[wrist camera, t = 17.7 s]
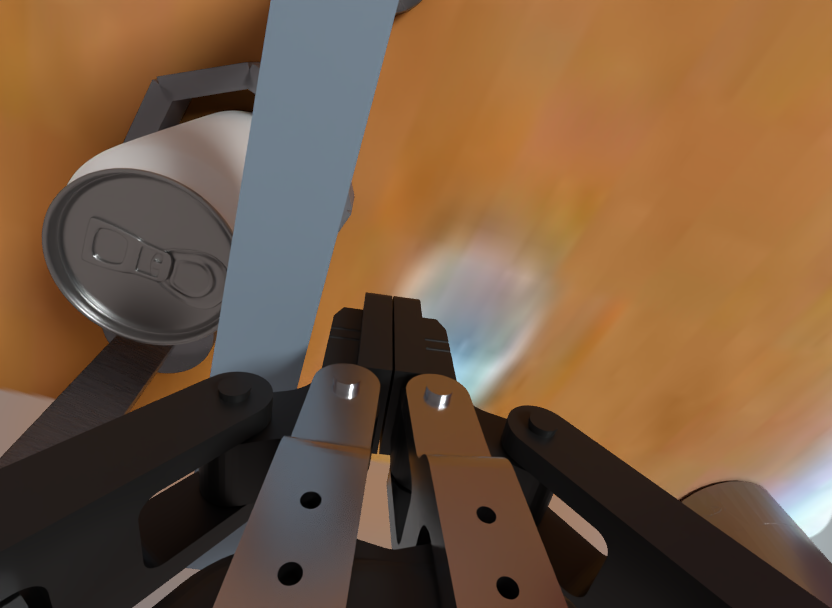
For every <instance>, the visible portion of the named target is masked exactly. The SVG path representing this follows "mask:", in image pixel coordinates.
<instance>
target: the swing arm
mask: <svg viewBox="0 0 832 608" xmlns="http://www.w3.org/2000/svg"><path fill="white" fill-rule="evenodd" d="M398 2H399V0H271V2H270V9H269V15H268V21H267V27H266V33H265V40H264V46H263V52H262V58H261V64H260V70H259V77H258V83H257V89H256V95H255V101H254V108H253V114H252V120H251V126H250V132H249V139H248V145H247V151H246V157H245V163H244V170H243V176H242V182H241V188H240V194H239V200H238V207H237V213H236V219H235V225H234V231H233V238H232V244H231V250H230V256H229V262H228V269H227V275H226V281H225V287H224V293H223V299H222V306H221V312H220V318H219V324H218V330H217V337H216V343H215V349H214V355H213V361H212V368H211V374H210V377H213V376H215V375H218V374H222V373H227V372H248V373H253V374H256V375H259V376H261V377H263V378H264V379H266V380H267V381H268V382H269V383H270V384H271V386H272V389H273V392H279V391H288V390H295V389H297V386H298V382H299V378H300V374H301V370H302V367H303V363H304V359H305V355H306V351H307V348H308V344H309V340H310V336H311V332H312V329H313V325H314V321H315V317H316V313H317V310H318V306H319V302H320V298H321V294H322V291H323V287H324V283H325V279H326V275H327V272H328V268H329V264H330V260H331V256H332V253H333V249H334V245H335V241H336V237H337V234H338V230H339V226H340V222H341V218H342V215H343V211H344V207H345V203H346V199H347V196H348V192H349V188H350V184H351V180H352V177H353V173H354V169H355V165H356V161H357V158H358V154H359V150H360V146H361V142H362V139H363V135H364V131H365V127H366V124H367V120H368V116H369V112H370V108H371V105H372V101H373V97H374V93H375V89H376V86H377V82H378V78H379V74H380V70H381V67H382V63H383V59H384V55H385V51H386V48H387V44H388V40H389V36H390V32H391V29H392V25H393V21H394V17H395V13H396V10H397V6H398ZM197 471H199V468H198V469H196V470H195V472H197ZM246 525H247V522H246V523H245V524H244V525H242V526H241V527H240V528H238V529H237V530H236V531H234V532H233V533H231V534H230V535H229V536H227V537H226V538H225V539H223V540H222V541H221V542H219V543H218V544H217V545H215V546H214V547H213V548H211V549H210V550H209V551H207V552H206V553H205V554H203V555H202V556H201V557H199V558H198V559H197V560H195V561H194V562H193V563H191V564H190V565H189V566H187V567H186V568H192V569H199V570H202V569H203V568H205V567H206V566H208V565H210V564H212V563H214V562H216V561H218V560H220V559H222V558H225V557H227V556H230V555H232V554H235V552H236V549H237V547H238V544H239V542H240V539H241V537H242V534H243V532H244V529H245V527H246Z"/></svg>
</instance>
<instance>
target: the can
mask: <svg viewBox="0 0 832 608" xmlns="http://www.w3.org/2000/svg"><path fill="white" fill-rule="evenodd" d="M252 114H253V113H251V112H247V111H239V110H230V111H222V112H217V113H213V114H210V115H207V116H203V117H200V118H197V119H194V120H191V121H188V122H185V123H182V124H179V125H176V126H173V127H170V128H167V129H164V130H161V131H158V132H155V133H152V134H149V135H146V136H143V137H140V138H137V139H134V140H131V141H129V142H126V143H123V144H120V145H118V146H115V147H113V148H110V149H108V150H106V151H103V152H101V153H100V154H98V155H96V156H95V157H93V158H92V159H90V160H89V161H87V162H86V163H85V164H83V165H82V166H81V167H80V168H79V169H78V170H77V171H76V172H75V174H74V175H73V176H72V178H71V179H70V181H69V182H68V184H67V186H66V187H64V188H63V189H62V190H61V191H60V192H59V193H58V194H57V196H56V197H55V198H54V200H53V201H52V203H51V204H50V206H49V208H48V210H47V213H46V215H45V219H44V223H43V229H42V247H43V253H44V257H45V261H46V264H47V267H48V269H49V271H50V274H51V276H52V278H53V280H54V281H55V283H56V285H57V286H58V288H59V289H60V291H61V292H62V293H63V295H64V296H65V297H66V298H67V299H68V301H69V302H70V303H71V304H72V305H73V306H74V307H75V308H76V309H77V310H78V311H79V312H81V313H82V314H83V315H84V316H86V317H87V318H88V319H89V320H91V321H92V322H94V323H95V324H97V325H98V326H100V327H102V328H104V329H105V330H107V331H109V332H111V333H114V334H116V335H118V336H121V337H123V338H126V339H129V340H133V341H136V342H141V343H146V344H153V345H178V344H185V343H189V342H193V341H196V340H199V339H202V338H204V337H206V336H208V335H210V334H212V333H214V332H215V331H217V330H218V324H219V318H220V312H221V306H222V299H223V293H224V287H225V281H226V275H227V269H228V262H229V256H230V250H231V244H232V238H233V231H234V225H235V219H236V213H237V207H238V200H239V194H240V188H241V182H242V176H243V170H244V163H245V157H246V151H247V145H248V139H249V132H250V126H251V120H252Z"/></svg>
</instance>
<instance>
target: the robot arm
mask: <svg viewBox="0 0 832 608" xmlns="http://www.w3.org/2000/svg"><path fill="white" fill-rule="evenodd" d="M379 440H380V447H379V454H385V455H390V468H389V473H388V479H387V495H388V507H389V519H390V532H391V543H392V549H387V548H383V547H380V546H377V545H374V544H370V543H367V542H365V541H361V540H358V539H357V533H358V527H359V521H360V515H361V508H362V502H363V495H364V489H365V483H366V477H367V471H368V469H369V465H370V460H371V454H372V453H373V454H377V450H378V445H379ZM198 468H199V471H197V472H195V473H194V474H192V475H190V476H189V477H187V478H185V479H183V480H182V481H180V482H178V483H177V484H175V485H173V486H172V487H170V488H168V489H167V490H165V491H163V492H161V493H160V494H158V495H156V496H155V497H153V498H151V497H152V496H153V495H155V494H156V493H157V492H159V491H160V490H162V489H164V488H166V487H167V486H169V485H171V484H172V483H174V482H176V481H177V480H179V479H181V478H183V477H184V476H186V475H188V474H189V473H191V472H193V471H195V470H196V469H198ZM553 493H554V494H555V495H556V496H557V497H559V498H560V499H561V500H562V501H564V502H565V503H566V504H567V505H568V506H569V507H571V508H572V509H573V510H574V511H575V512H576V513H578V514H579V515H580V516H581V517H582V518H584V519H585V520H586V521H587V522H588V523H590V524H591V525H592V526H593V527H595V528H596V529H597V530H598V531H599V532H600V534H601V535H602V536H603V538H604V540H605V542H606V544H607V548H608V556H605V555H603V554H602V553H601V552H599V551H598V550H597V549H596V548H595V547H594V546H592V545H591V544H590V543H589V542H588V541H587V540H586V539H584V538H583V537H582V536H581V535H580V534H578V533H577V532H576V531H575V530H574V529H573V528H572V527H570V526H569V525H568V524H567V523H566V522H565V521H564V520H562V519H561V518H560V517H559V516H558V515H557V514H556V513H554V512H553V511H552V510H551V509H550V508H549V507H548V505H549V503H550V500H551V498H552V496H553ZM150 498H151V499H150ZM149 499H150V500H149ZM246 522H247V525H246V527H245V529H244V532H243V534H242V537H241V539H240V542H239V544H238V547H237V549H236V552H235V554H232V555H230V556H227V557H225V558H222V559H220V560H218V561H216V562H214V563H212V564H210V565H208V566H206V567H205V568H203V569H202V570H200V571H199V572H197V573H196V574H194V575H192V576H191V577H190V578H189V579H187V580H186V581H184V582H183V583H182V584H180V585H179V586H178V587H177V588H176V589H174V590H173V591H172V592H171V593H169V594H168V595H167V596H166V597H164V598H163V599H162V600H161V601H159V602H158V603H157V604H156V605H155V606H153V607H152V608H832V563H831V562H830V561H829V560H828V559H827V558H826V557H825V555H824V554H823V553H821V551H820V550H819V549H818V548H817V547H816V546H815V544H814V543H813V542H812V541H811V540H810V539H809V538H808V537H807V535H806V534H805V533H804V532H803V531H802V529H801V528H800V527H799V526H798V525H797V524H796V523H795V522H794V521H793V519H792V518H791V517H790V516H789V515H788V514H787V513H786V512H785V511H784V509H783V508H782V507H781V506H780V505H779V504H778V503H777V502H776V501H775V499H774V498H773V497H772V496H771V495H770V494H769V493H768V492H767V491H766V490H765V489H764V488H762V487H761V486H760V485H757V484H754V483H751V482H744V481H732V482H725V483H720V484H716V485H713V486H710V487H706V488H704V489H702V490H700V491H698V492H696V493H694V494H692V495H691V496H689V497H688V498H686V499H684V500H683V501H682V502H680V501H679V500H677V499H676V498H675V497H673V496H672V495H670V494H669V493H668V492H666V491H665V490H663V489H662V488H660V487H659V486H658V485H656V484H655V483H653V482H652V481H651V480H649V479H648V478H646V477H645V476H643V475H642V474H641V473H639V472H638V471H636V470H635V469H634V468H632V467H631V466H629V465H628V464H626V463H625V462H624V461H622V460H621V459H619V458H618V457H617V456H615V455H614V454H612V453H611V452H609V451H608V450H607V449H605V448H604V447H602V446H601V445H600V444H598V443H597V442H595V441H594V440H592V439H591V438H590V437H588V436H587V435H585V434H584V433H583V432H581V431H580V430H578V429H577V428H576V427H574V426H573V425H571V424H570V423H568V422H567V421H566V420H564V419H563V418H561V417H560V416H558V415H557V414H555V413H553V412H551V411H549V410H547V409H544V408H541V407H537V406H529V405H527V406H519V407H516V408H514V409H513V410H511V412H510V413H509V415H508V418H507V419H505V418H502V417H499V416H497V415H494V414H491V413H488V412H485V411H483V410H481V409H479V408H477V407H475V406H473V403H472V401H471V398H470V395H469V393H468V391H467V390H466V388H465V387H464V386H463V385H461V384H460V383H459V382H457V381H456V376H455V371H454V366H453V361H452V357H451V353H450V347H449V343H448V337H447V332H446V330H445V328H444V327H443V326H442V325H441V324H440V323H439V322H438V321H437V320H436V319H428V318H422V312H421V304H420V300H418V299H411V298H403V297H396V296H394V297H393V300H392V296H388V295H381V294H374V293H367V292H366V294H365V301H364V308H363V310H361V309H353V308H346V307H344V308H342V309H341V310H340V311H339V312H338V313H336V314H335V315H334V317H333V322H332V326H331V331H330V335H329V339H328V344H327V348H326V352H325V357H324V361H323V366H322V369H320V370H319V371H318V372H317V373H316V374H315V376H314V378H313V380H312V383H311V384H309V385H307V386H304V387H302V388H299V389H295V390H288V391H279V392H273V389H272V386H271V384H270V383H269V382H268V381H267V380H266V379H264V378H263V377H261V376H259V375H256V374H253V373H248V372H227V373H222V374H218V375H215V376H213V377H210V378H208V379H206V380H203V381H201V382H199V383H196V384H194V385H192V386H189V387H187V388H185V389H183V390H180V391H178V392H176V393H173V394H171V395H169V396H166V397H164V398H162V399H160V400H157V401H155V402H153V403H150V404H148V405H146V406H143V407H141V408H139V409H137V410H134V411H132V412H130V413H127V414H125V415H123V416H120V417H118V418H116V419H114V420H111V421H109V422H107V423H104V424H102V425H100V426H97V427H95V428H93V429H91V430H88V431H86V432H84V433H81V434H79V435H77V436H74V437H72V438H70V439H67V440H65V441H63V442H61V443H58V444H56V445H54V446H51V447H49V448H47V449H44V450H42V451H40V452H38V453H35V454H33V455H31V456H28V457H26V458H24V459H21V460H19V461H17V462H15V463H12V464H10V465H8V466H5V467H3V468H1V469H0V608H132V607H134V606H135V605H136V604H138V603H139V602H140V601H141V600H143V599H144V598H146V597H147V596H148V595H150V594H151V593H152V592H154V591H155V590H156V589H158V588H159V587H160V586H162V585H163V584H164V583H166V582H167V581H169V579H171V578H172V577H174V576H175V575H176V574H178V573H179V572H180V571H182V570H183V569H185V568H186V567H187V566H189V565H190V564H191V563H193V562H194V561H195V560H197V559H198V558H199V557H201V556H202V555H203V554H205V553H206V552H207V551H209V550H210V549H211V548H213V547H214V546H215V545H217V544H218V543H219V542H221V541H222V540H223V539H225V538H226V537H227V536H229V535H230V534H231V533H233V532H234V531H236V530H237V529H238V528H240V527H241V526H242V525H244V524H245V523H246Z"/></svg>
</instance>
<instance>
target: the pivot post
mask: <svg viewBox="0 0 832 608" xmlns="http://www.w3.org/2000/svg"><path fill="white" fill-rule="evenodd" d="M421 1H422V0H399V2H398V6H397V10H396V13H395V15H397V14H401V13H404V12H406V11H409V10H410V9H412V8H414V7H415V6H416V5H418V4H419V3H420V2H421Z"/></svg>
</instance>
